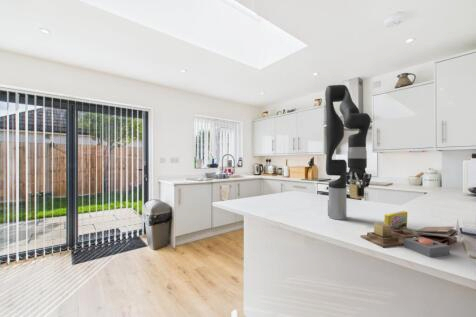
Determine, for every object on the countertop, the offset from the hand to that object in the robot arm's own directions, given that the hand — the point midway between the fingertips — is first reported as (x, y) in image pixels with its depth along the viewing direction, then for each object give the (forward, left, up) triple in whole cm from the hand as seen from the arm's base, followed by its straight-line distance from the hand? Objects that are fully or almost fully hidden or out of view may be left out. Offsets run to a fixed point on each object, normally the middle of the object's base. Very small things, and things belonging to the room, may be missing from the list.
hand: (357, 195), depth 95 cm
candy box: (+1, +21, -18) cm, 27 cm away
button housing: (+21, +11, -17) cm, 29 cm away
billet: (0, 0, -1) cm, 1 cm away
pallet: (+10, +9, -17) cm, 22 cm away
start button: (+21, +11, -17) cm, 29 cm away
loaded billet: (+10, +3, -17) cm, 20 cm away
